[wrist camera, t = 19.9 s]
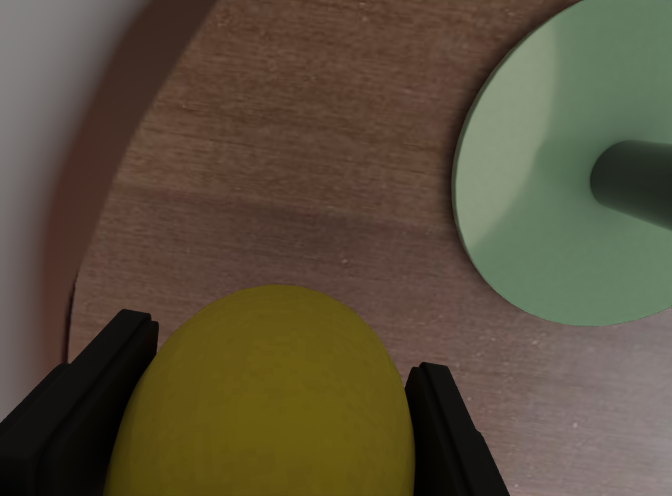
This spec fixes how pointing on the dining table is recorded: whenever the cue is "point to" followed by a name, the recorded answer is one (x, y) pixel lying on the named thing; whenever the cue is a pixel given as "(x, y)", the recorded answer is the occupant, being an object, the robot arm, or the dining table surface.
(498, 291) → the pot lid
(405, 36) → the dining table surface
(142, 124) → the dining table surface
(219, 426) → the lemon
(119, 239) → the dining table surface
